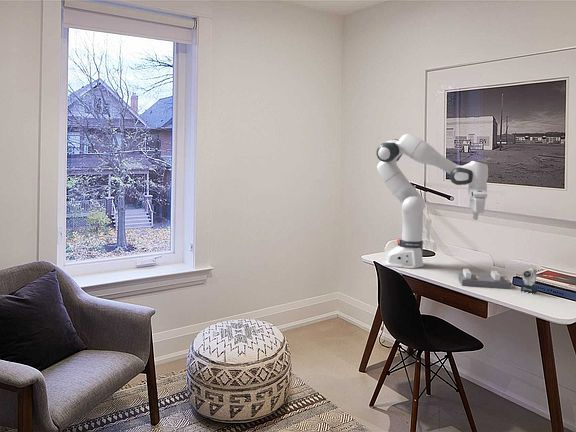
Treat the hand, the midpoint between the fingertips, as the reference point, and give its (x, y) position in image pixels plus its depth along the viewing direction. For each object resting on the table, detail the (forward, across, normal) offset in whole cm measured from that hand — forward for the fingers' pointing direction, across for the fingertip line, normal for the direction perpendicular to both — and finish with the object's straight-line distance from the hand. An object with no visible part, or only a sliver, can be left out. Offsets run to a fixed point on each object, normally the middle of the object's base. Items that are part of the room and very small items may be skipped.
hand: (475, 219), depth 251 cm
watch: (+29, +26, +21) cm, 44 cm away
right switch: (+26, +17, +8) cm, 32 cm away
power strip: (+29, +17, +3) cm, 34 cm away
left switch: (+26, +17, -5) cm, 31 cm away
